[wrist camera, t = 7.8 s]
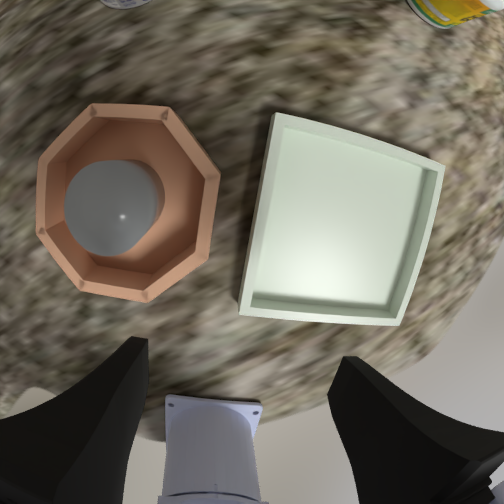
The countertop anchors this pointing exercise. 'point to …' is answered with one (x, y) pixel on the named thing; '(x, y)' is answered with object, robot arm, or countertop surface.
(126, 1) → the energy drink
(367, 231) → the parts tray
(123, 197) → the grey cylinder
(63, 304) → the countertop surface
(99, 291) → the bowl
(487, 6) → the supplement bottle
